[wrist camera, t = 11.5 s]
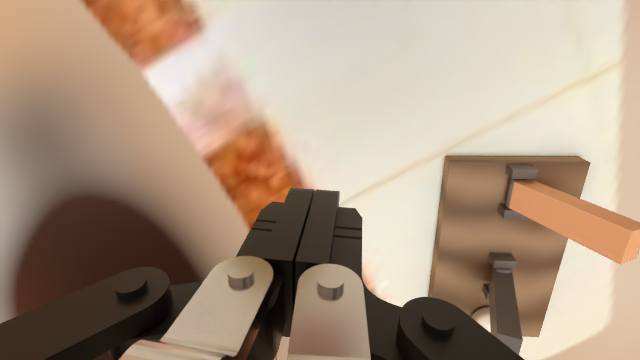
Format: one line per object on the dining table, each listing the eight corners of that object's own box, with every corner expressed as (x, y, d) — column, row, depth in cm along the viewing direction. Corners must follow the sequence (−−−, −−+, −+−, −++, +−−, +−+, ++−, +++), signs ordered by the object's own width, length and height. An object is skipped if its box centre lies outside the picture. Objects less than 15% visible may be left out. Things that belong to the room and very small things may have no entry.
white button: (473, 306, 43) (478, 318, 41) (506, 307, 43) (513, 320, 41) (468, 330, 45) (474, 343, 43) (501, 331, 44) (507, 344, 42)
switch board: (445, 156, 38) (454, 167, 35) (578, 156, 37) (600, 168, 34) (425, 320, 48) (430, 342, 44) (531, 325, 46) (545, 347, 43)
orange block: (506, 178, 36) (632, 231, 26) (520, 175, 37) (648, 226, 27) (501, 204, 37) (620, 264, 27) (515, 200, 38) (636, 258, 28)
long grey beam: (492, 261, 41) (497, 333, 31) (511, 264, 40) (522, 339, 30) (488, 281, 42) (491, 357, 32) (506, 285, 41) (515, 364, 32)
